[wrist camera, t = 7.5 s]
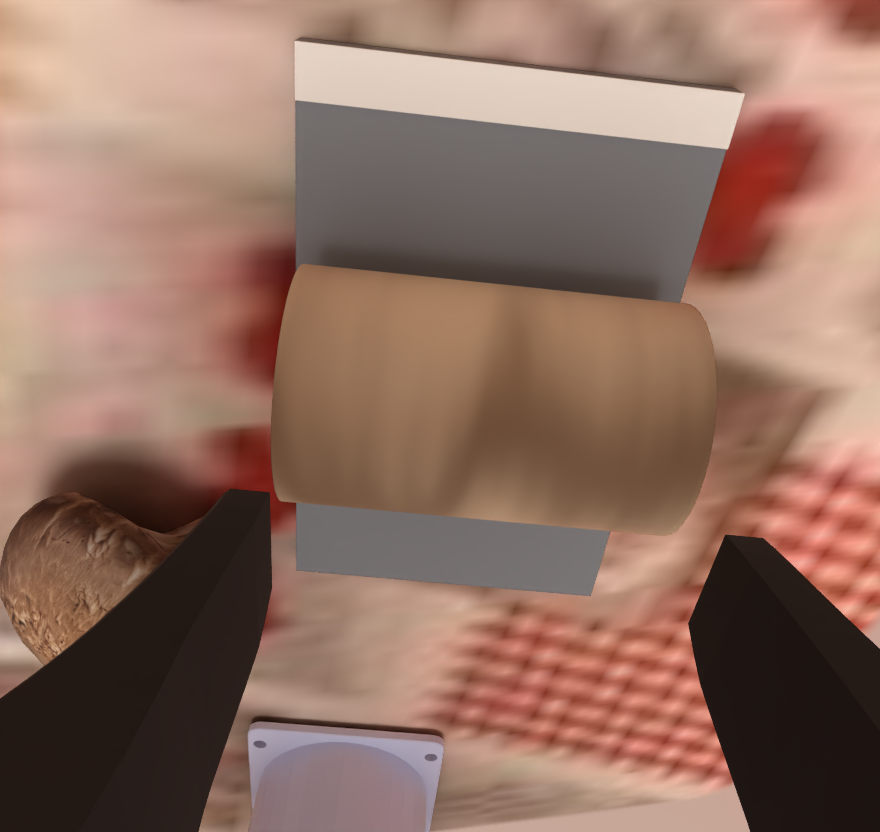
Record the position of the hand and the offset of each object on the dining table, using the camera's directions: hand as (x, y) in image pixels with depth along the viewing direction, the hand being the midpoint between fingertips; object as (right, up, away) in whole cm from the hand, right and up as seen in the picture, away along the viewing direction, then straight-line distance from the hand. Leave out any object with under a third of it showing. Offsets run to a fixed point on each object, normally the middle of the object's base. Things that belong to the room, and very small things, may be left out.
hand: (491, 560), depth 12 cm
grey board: (0, +4, +9) cm, 10 cm away
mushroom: (-11, -2, +13) cm, 17 cm away
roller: (0, +5, +9) cm, 10 cm away
